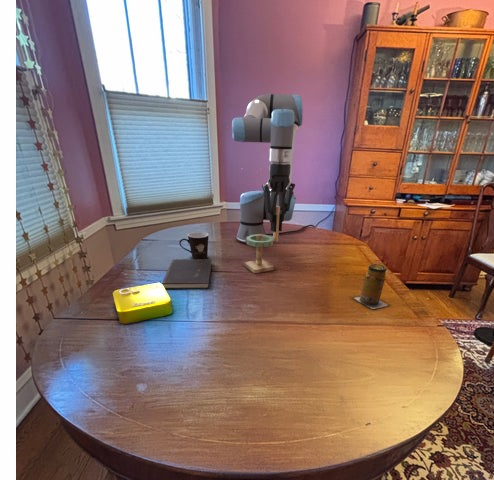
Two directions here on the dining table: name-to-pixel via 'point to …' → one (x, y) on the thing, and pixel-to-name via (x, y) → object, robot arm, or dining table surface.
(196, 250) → the coffee mug
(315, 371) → the dining table surface
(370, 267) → the condiment
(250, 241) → the hoop
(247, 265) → the post
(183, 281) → the hardcover book
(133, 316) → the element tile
